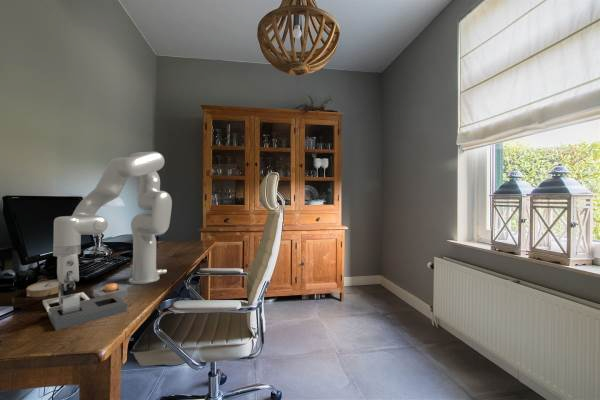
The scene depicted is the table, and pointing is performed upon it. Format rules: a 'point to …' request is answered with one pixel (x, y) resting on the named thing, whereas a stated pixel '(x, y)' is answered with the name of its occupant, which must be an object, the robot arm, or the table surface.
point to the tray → (55, 300)
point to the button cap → (110, 287)
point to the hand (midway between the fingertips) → (66, 297)
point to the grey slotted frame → (88, 311)
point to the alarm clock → (43, 288)
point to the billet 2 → (70, 304)
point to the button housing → (119, 293)
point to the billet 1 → (61, 291)
